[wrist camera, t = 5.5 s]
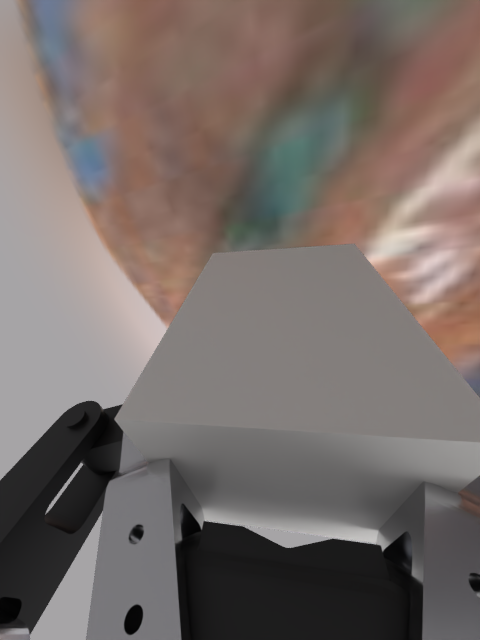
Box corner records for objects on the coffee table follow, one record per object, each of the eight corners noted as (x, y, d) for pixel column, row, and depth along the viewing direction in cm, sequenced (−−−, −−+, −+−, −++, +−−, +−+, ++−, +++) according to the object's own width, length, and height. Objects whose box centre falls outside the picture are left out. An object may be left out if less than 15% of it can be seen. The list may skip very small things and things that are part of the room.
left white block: (212, 253, 10) (113, 419, 4) (354, 243, 9) (517, 444, 3) (230, 349, 14) (192, 518, 8) (335, 350, 13) (392, 545, 7)
